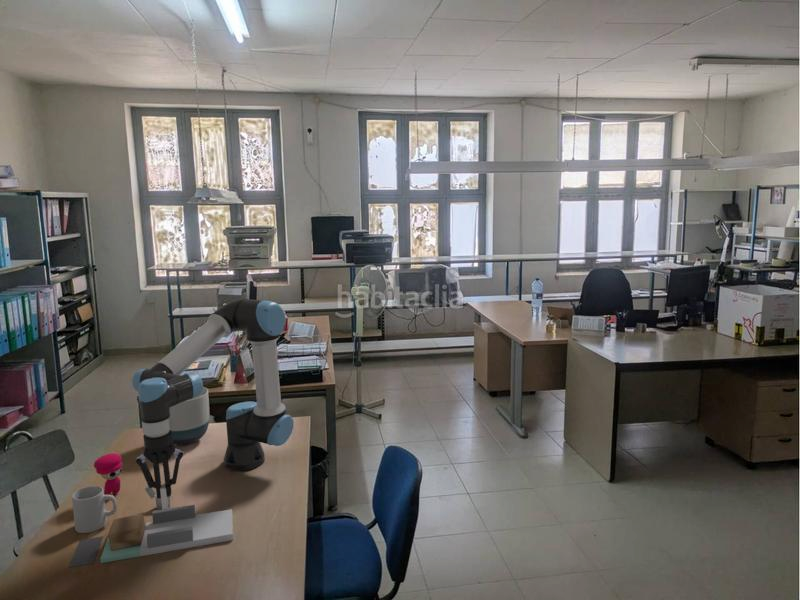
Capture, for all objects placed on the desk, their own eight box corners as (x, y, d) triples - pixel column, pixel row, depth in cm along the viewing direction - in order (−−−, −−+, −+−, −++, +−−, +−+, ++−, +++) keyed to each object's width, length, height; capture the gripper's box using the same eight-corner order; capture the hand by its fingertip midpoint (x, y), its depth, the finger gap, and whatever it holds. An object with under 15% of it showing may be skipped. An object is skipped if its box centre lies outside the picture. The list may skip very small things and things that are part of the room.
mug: (71, 535, 163) (67, 501, 161) (80, 519, 171) (76, 487, 169) (114, 529, 166) (111, 496, 164) (121, 514, 174) (118, 482, 172)
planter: (151, 441, 228) (147, 392, 225) (199, 428, 242) (196, 382, 238) (169, 457, 213) (165, 405, 210) (219, 442, 227) (216, 393, 223)
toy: (113, 504, 180) (109, 462, 177) (91, 501, 181) (87, 459, 179) (130, 491, 188) (127, 450, 185) (109, 489, 190) (105, 448, 187)
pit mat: (103, 539, 162) (102, 536, 162) (93, 566, 150) (93, 563, 150) (80, 543, 161) (80, 540, 160) (68, 570, 148) (68, 567, 148)
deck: (232, 514, 174) (231, 499, 173) (233, 540, 161) (232, 523, 160) (147, 528, 166) (145, 512, 165) (140, 556, 153) (138, 538, 152)
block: (145, 528, 163) (142, 513, 162) (141, 543, 156) (138, 527, 155) (116, 534, 161) (113, 519, 160) (110, 550, 153) (107, 535, 152)
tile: (147, 528, 166) (146, 524, 166) (140, 556, 153) (140, 552, 153) (110, 534, 163) (110, 530, 163) (100, 563, 150) (100, 558, 150)
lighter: (170, 504, 180) (168, 481, 179) (169, 507, 178) (168, 484, 177) (147, 507, 178) (145, 484, 177) (146, 510, 176) (144, 487, 175)
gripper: (182, 423, 161) (189, 496, 166) (134, 429, 157) (143, 503, 162) (180, 434, 154) (188, 509, 159) (130, 440, 150) (139, 517, 155)
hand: (165, 506), depth 161 cm, fingers closed
